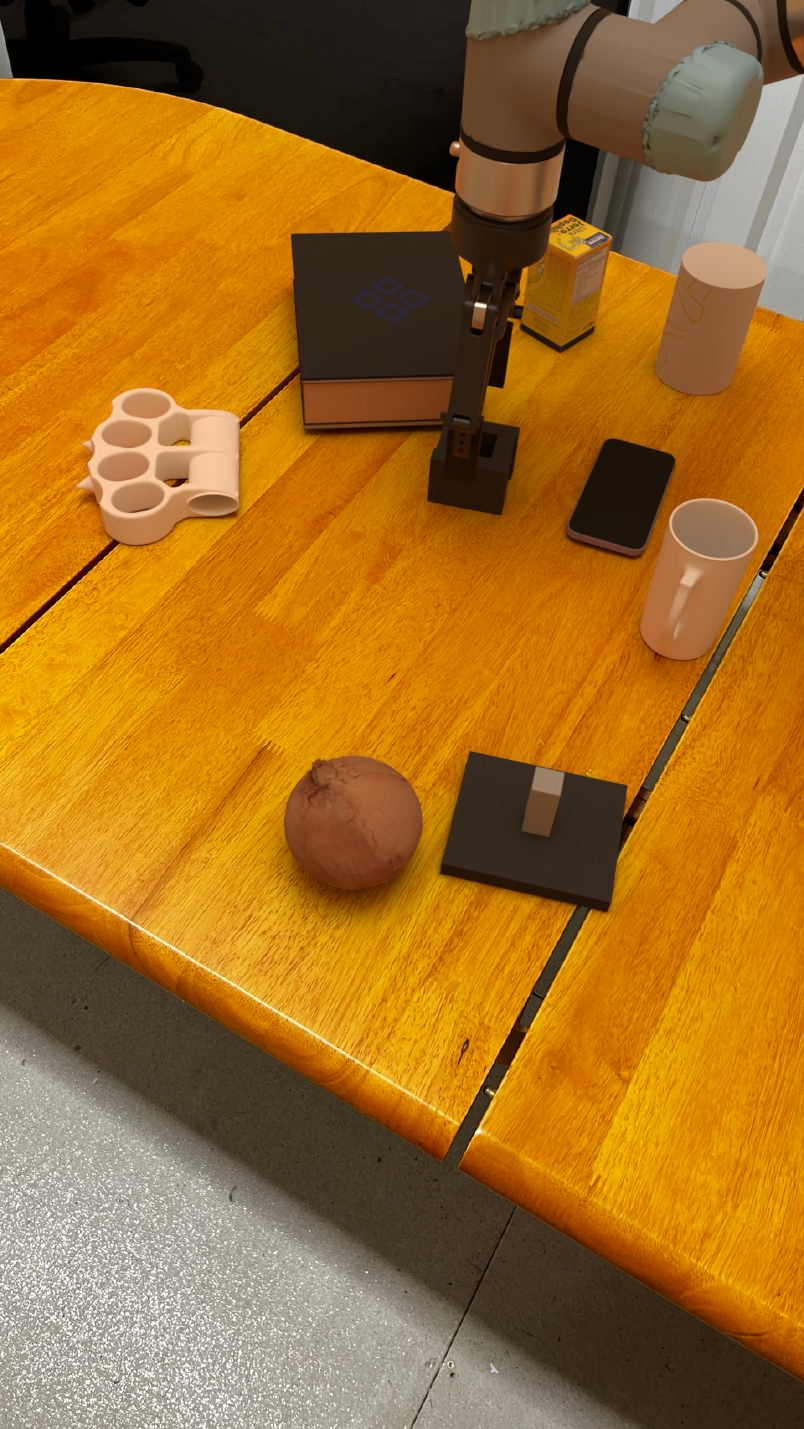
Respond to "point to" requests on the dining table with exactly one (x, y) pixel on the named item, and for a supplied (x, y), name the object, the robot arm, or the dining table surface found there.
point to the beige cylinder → (709, 317)
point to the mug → (696, 576)
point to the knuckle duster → (161, 465)
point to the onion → (353, 822)
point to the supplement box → (566, 284)
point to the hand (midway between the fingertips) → (475, 429)
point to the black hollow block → (490, 471)
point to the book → (376, 327)
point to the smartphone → (622, 497)
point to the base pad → (527, 854)
